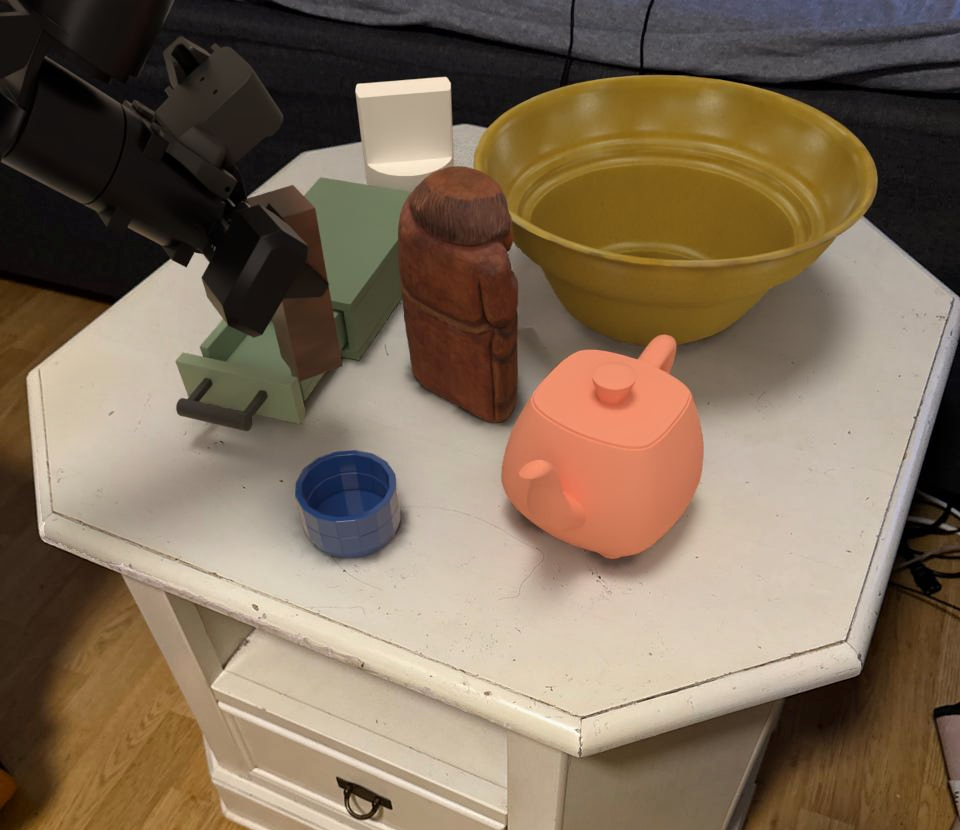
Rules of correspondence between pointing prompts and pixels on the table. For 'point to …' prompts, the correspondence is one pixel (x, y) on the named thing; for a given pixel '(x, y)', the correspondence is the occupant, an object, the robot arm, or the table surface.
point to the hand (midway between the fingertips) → (313, 276)
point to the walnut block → (304, 320)
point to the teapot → (607, 450)
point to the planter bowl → (672, 197)
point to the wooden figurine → (461, 290)
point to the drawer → (244, 378)
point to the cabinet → (359, 254)
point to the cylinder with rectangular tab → (405, 130)
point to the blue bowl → (348, 503)
